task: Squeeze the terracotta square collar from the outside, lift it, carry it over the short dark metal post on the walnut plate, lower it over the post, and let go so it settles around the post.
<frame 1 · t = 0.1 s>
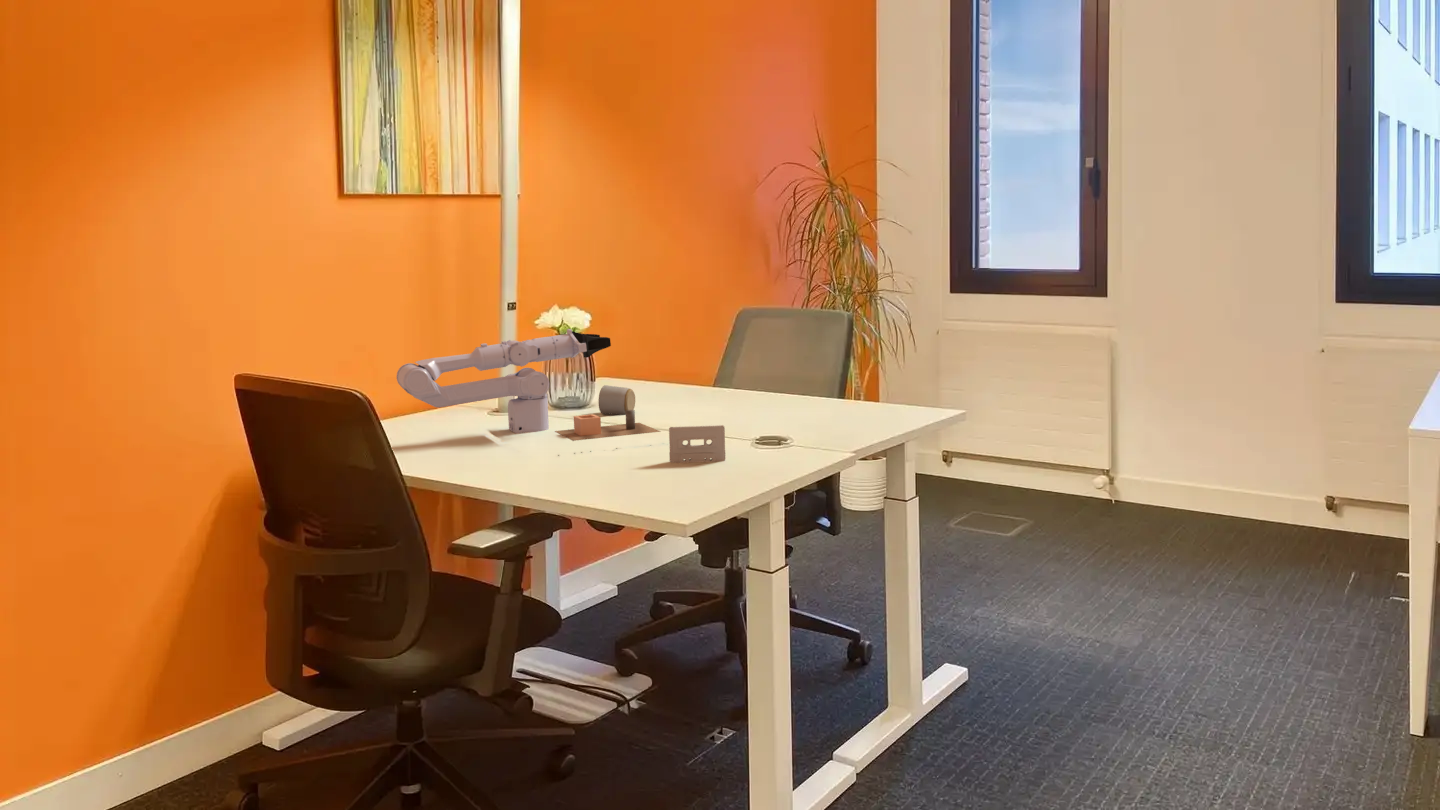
hand: (604, 340, 306), 22 cm above the table, tool horizontal, fingers open, 7 cm apart
plate: (607, 435, 296), on the table
cassette: (697, 462, 265), on the table
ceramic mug: (618, 414, 328), on the table
collar: (587, 433, 294), point 1 cm above the table, touching plate
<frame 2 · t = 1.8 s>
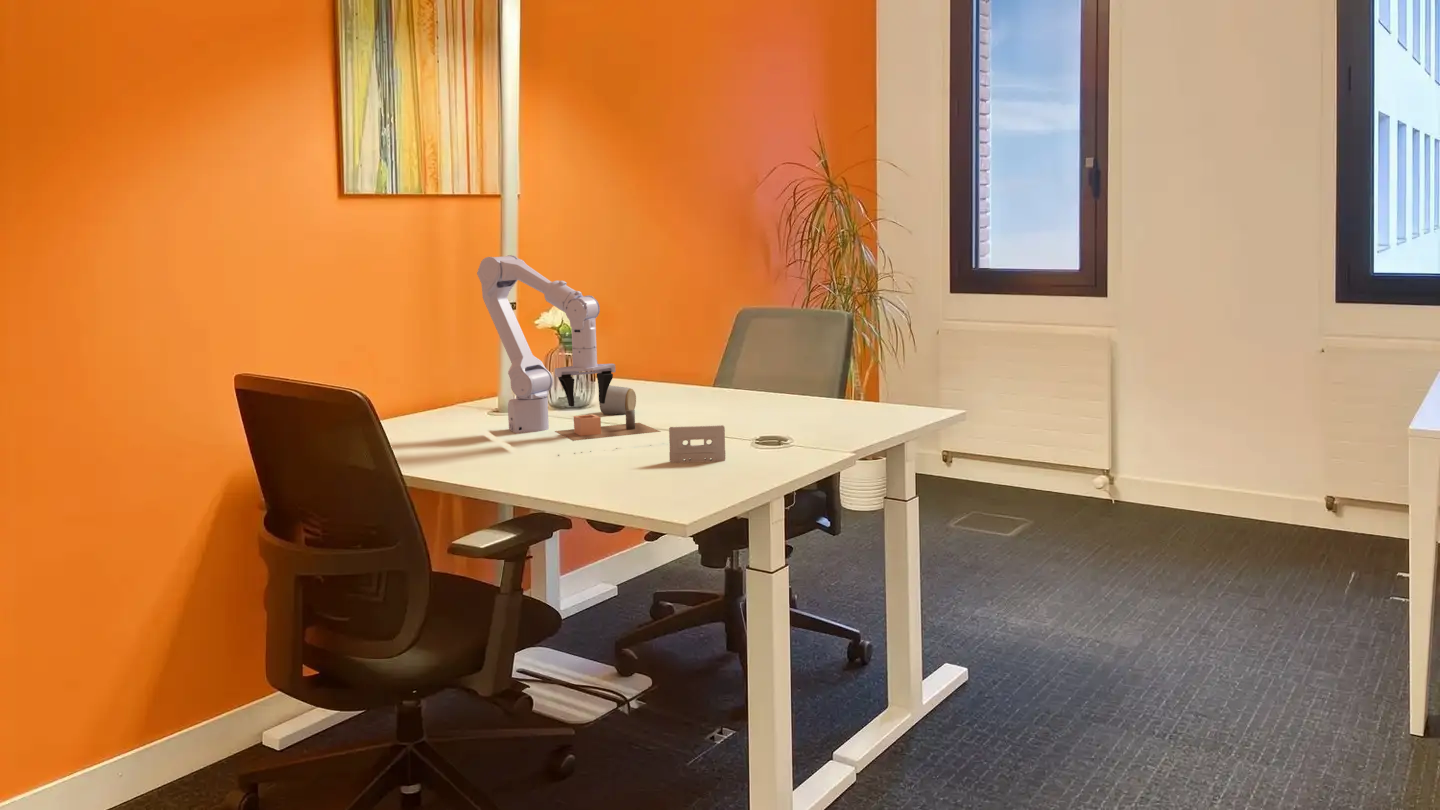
hand: (586, 404, 293), 8 cm above the table, tool pointing down, fingers open, 7 cm apart
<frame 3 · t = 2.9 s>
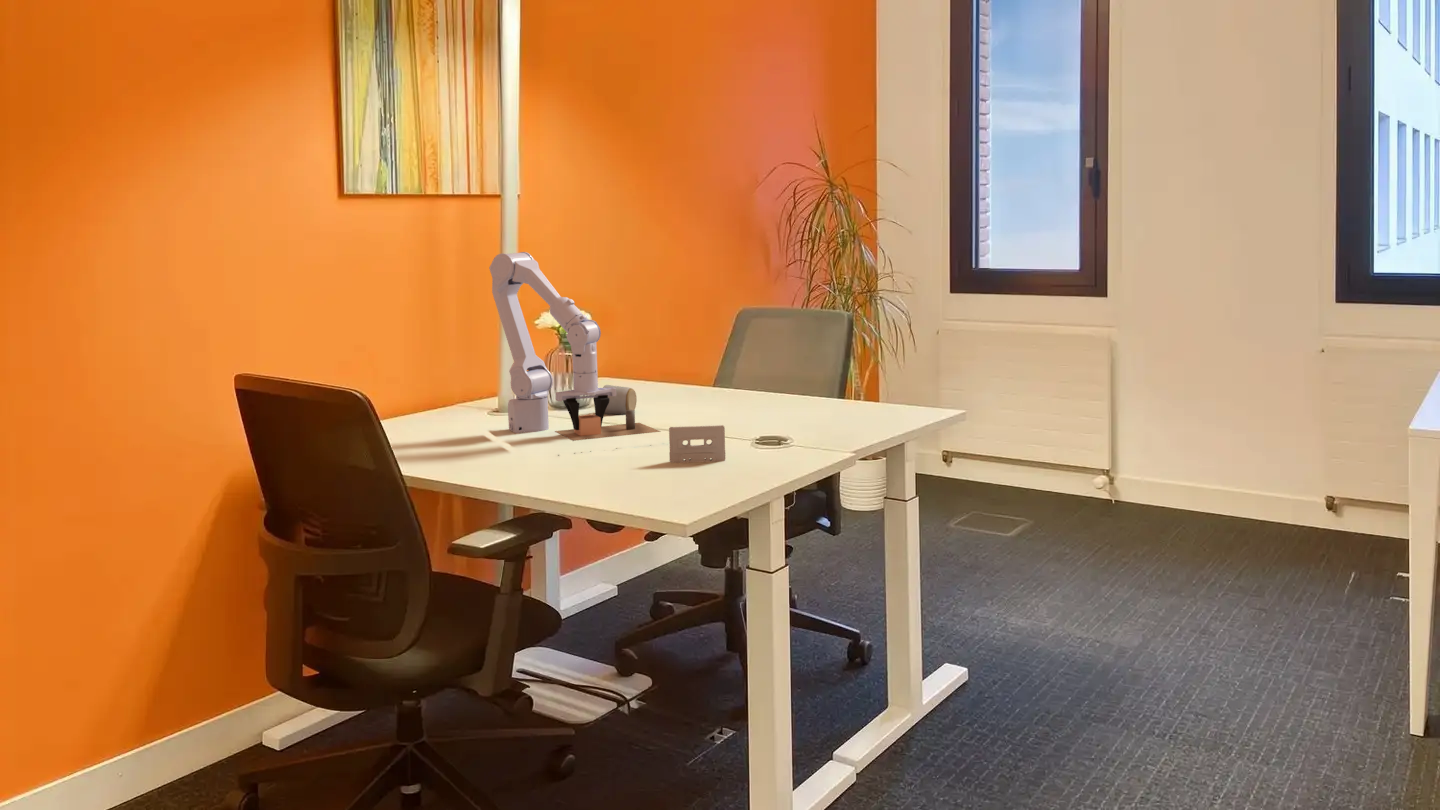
hand: (587, 428, 294), 2 cm above the table, tool pointing down, fingers closed on collar, 5 cm apart
collar: (587, 433, 294), point 1 cm above the table, touching gripper, plate
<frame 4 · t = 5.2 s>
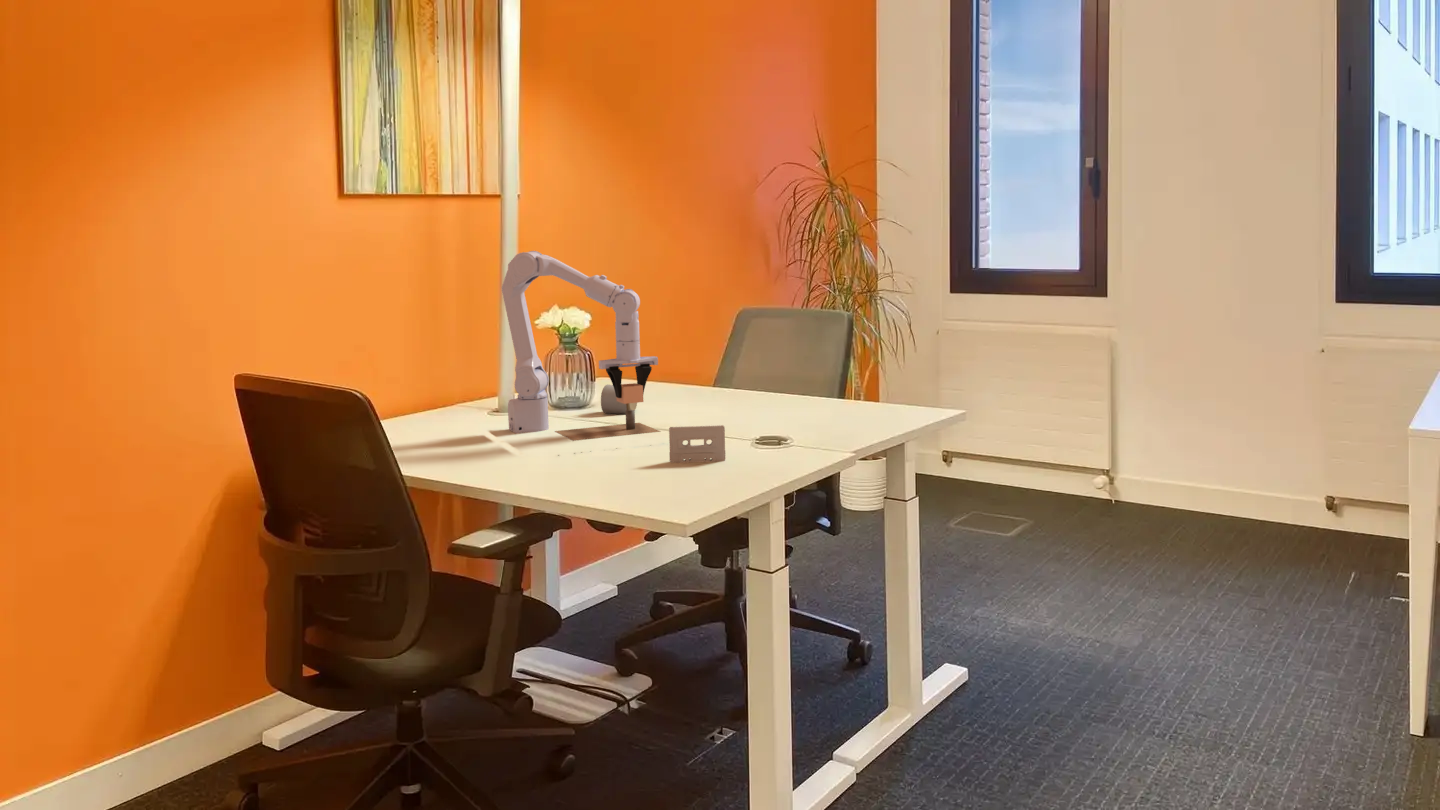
hand: (629, 396, 297), 9 cm above the table, tool pointing down, fingers closed on collar, 5 cm apart
collar: (629, 401, 298), point 8 cm above the table, touching gripper
when the fingers open (4 cm above the table, at t = 7.5 s): collar drops 1 cm, resting on plate.
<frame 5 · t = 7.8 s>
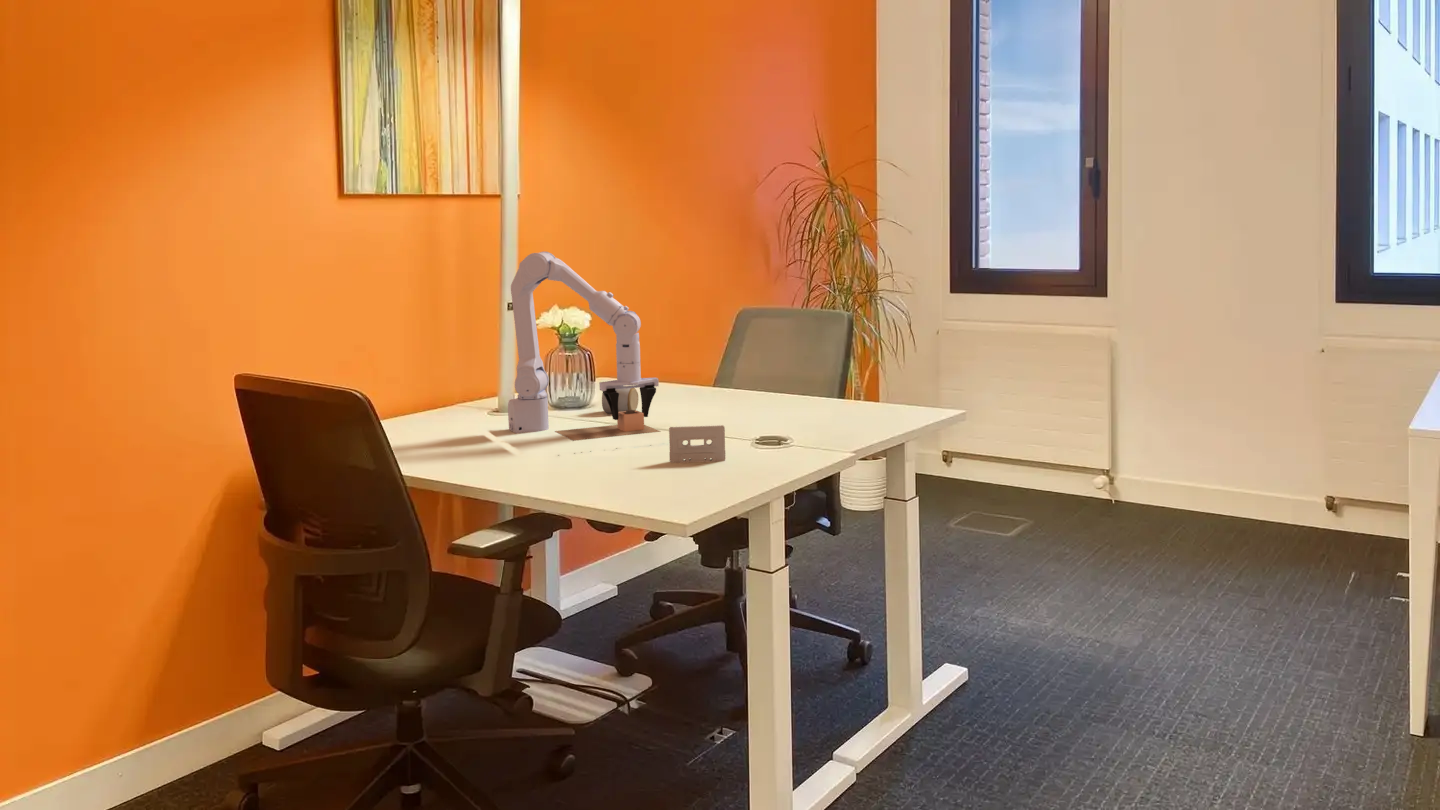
hand: (630, 417, 298), 4 cm above the table, tool pointing down, fingers open, 7 cm apart
collar: (630, 428, 299), point 1 cm above the table, touching plate
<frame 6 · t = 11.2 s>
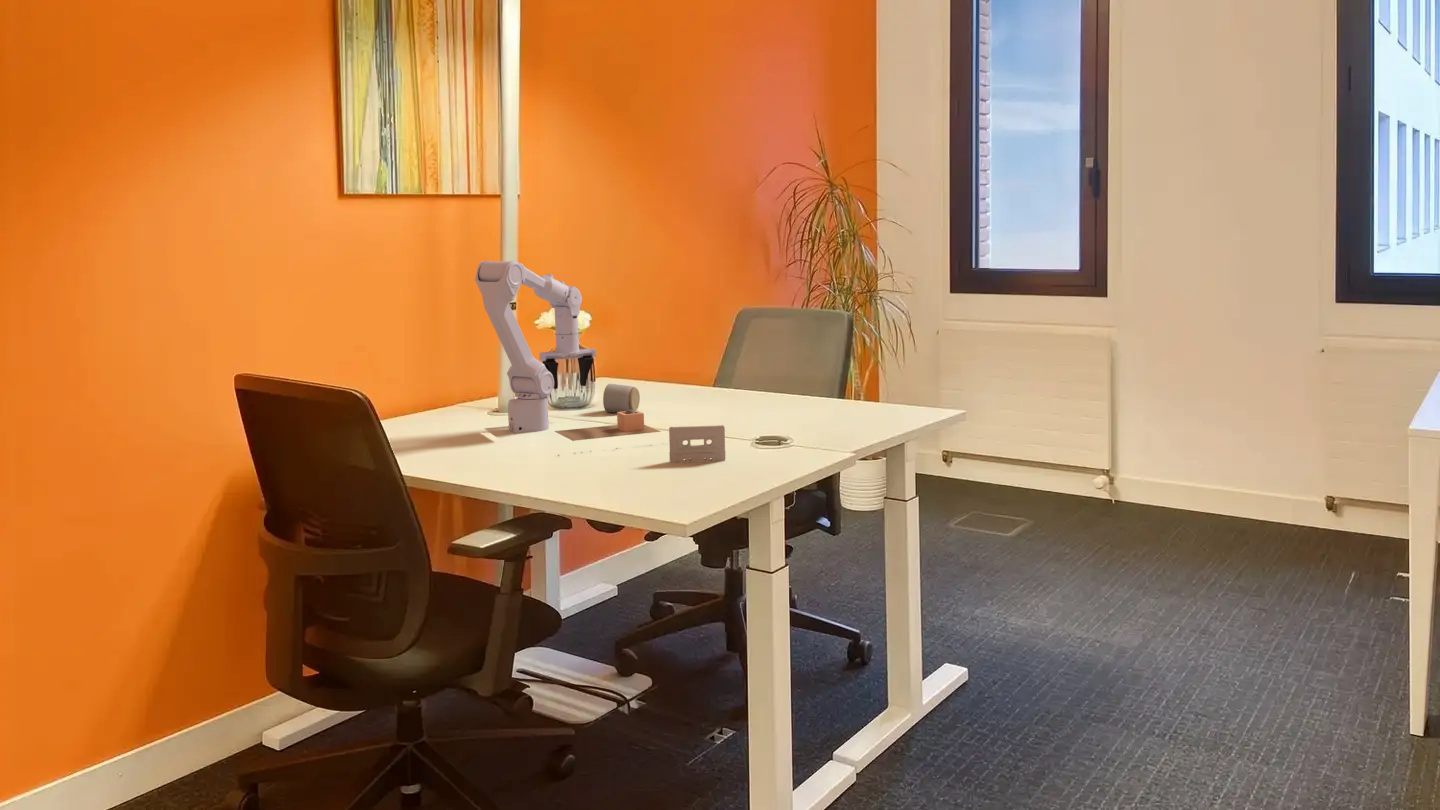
hand: (569, 387, 312), 9 cm above the table, tool pointing down, fingers open, 7 cm apart
at the end: collar 0.1 cm from the target spot on the plate, point 1.0 cm above the plate's base; collar tilted 0°; the gripper is holding nothing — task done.
